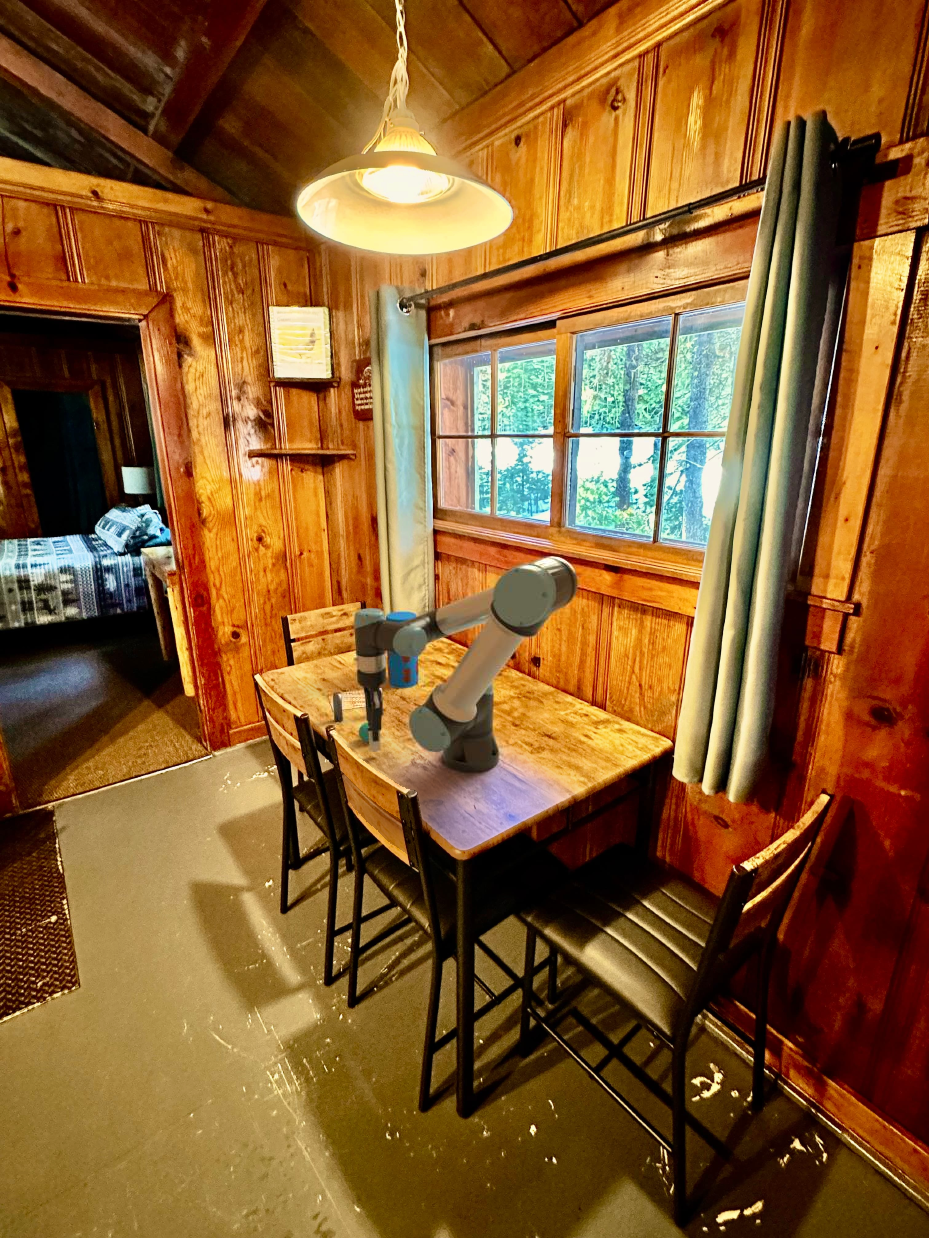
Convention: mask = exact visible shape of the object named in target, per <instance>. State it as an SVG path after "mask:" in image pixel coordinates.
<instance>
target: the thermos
mask: <svg viewBox="0 0 929 1238" xmlns="http://www.w3.org/2000/svg"><path fill="white" fill-rule="evenodd" d="M415 617H418V615H417V614H416V613H415V612H411V611H393V612H389V613H388V614H387V613H386V616H385V620H386V621H390V622H395V623H402V622H404V621H407V620H409V619H412V618H415ZM386 664H387V677H388V684H390V685H389V686H390V687H392V686H393V687H392V688H395V687H397V688H396V689H408V688H412V687H415V686H416V685H418V683H419V656H418V657H405V656H401V655H398V654H394V653H391V652H387V651H386Z"/></svg>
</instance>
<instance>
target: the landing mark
mask: <svg viewBox="0 0 929 1238" xmlns="http://www.w3.org/2000/svg"><path fill="white" fill-rule="evenodd" d="M358 690H359V689H357V690H351V691H343V692H341V693H344V694H341V697H342V701H352V700H353V701H365V699H363V698H361V699H360V698H356V699H357V700H356V699H355V698H353V699H352V698H350V697H365V695H363V694H360V695H358V694H357V695H355V694H354V695H352V694H349V693H364V691H363V690H364V689H360V690H359V691H358ZM361 690H362V691H361ZM352 691H353V692H352ZM355 691H356V692H355ZM346 693H347V694H346ZM329 697H330V696H329ZM329 697H328V698H329ZM344 697H345V698H344ZM347 697H348V698H347ZM346 698H347V699H346ZM349 698H350V699H349ZM351 699H352V700H351ZM359 699H360V700H359ZM330 701H333V700H329V703H330V707H331V709H332V712H333V713H334V709H333V702H330ZM348 703H349V702H348ZM351 703H352V702H351ZM342 705H348V704H346V702H345V703H344V702H342ZM349 705H350V704H349ZM352 705H353V704H352ZM354 705H358V706H355V708H356V709H360V707H362V708H366V705H365V703H362V702H361V703H360V702H359V703H357V702H356V704H354ZM359 705H360V706H359ZM361 705H362V706H361ZM364 705H365V706H364ZM353 708H354V707H353ZM345 709H349V710H353V709H352V708H349V707H347V706H344V707H343V706H342V711H346V710H345Z"/></svg>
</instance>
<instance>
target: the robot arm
mask: <svg viewBox="0 0 929 1238" xmlns="http://www.w3.org/2000/svg"><path fill="white" fill-rule="evenodd" d="M578 588H579V579H578V576H577V572H576V570H575V569H574V567H573V565H572V564H571V563H569V562H568V561H566V560H565V559H563V558H561V557H559V556H545V557H544V556H543V557H541V558H538V559H536V560H533V561H530V562H528V563H521V564H517V565H515V566H513V567H512V568H510V569H509V570H507V571H505V572H504V573H503V574H502V575H501V576H500V577H499V579H498V580H497V581H496V583H495V584H494V586H492V587H490V588H486V589H484V590H482V591H480V592H477V593H475V594H472V595H470V596H466V597H464V598H462V599H459V600H456V601H453V602H451V603H449V604H446V605H444V606H441V607H438V608H435V609H433V610H430V611H427V612H426V613H423V614H420V615H417V617H415V618H412V619H409V620H407V621H404V622H402V623H395V622H390V621H386V616H385V612H384V611H383V610H382V609H379V608H373V607H372V608H370V607H369V608H363V609H362V608H361V609H359V610H357V611H356V612H355V613H354V622H353V623H354V625H353V630H354V631H353V632H354V641H355V644H354V645H355V656H356V657H354V658H353V661H354V662H356V669H357V670H356V682H357V684H358V685H359V686H361V687H362V689H363V690H364V694H365V705H366V707H365V713H366V721H367V722H368V726H369V728H367V730H368V731H369V742H368V743H369V751H370V752H371V753H373V752H379V751H381V750H382V749H381V731H382V729H383V728H382V719H383V718H382V717H383V715H382V704H383V705H384V701H383V702H382V701H381V690H379V686H380V687H381V686H382V685H384V684H385V683H386V682H387V669H386V666H387V652H391V653H394V654H398V655H401V656H405V657H418V658H419V656H421V655H422V654H423V652H424V651H425V649H426V647H427V644H430V643H432V642H435V641H437V640H440V639H443V638H445V637H449V636H450V635H453V634H456V633H460V632H463V631H466V630H468V629H473V628H475V627H477V626H481V625H482V624H484V625H483V627H482V628H481V630H480V632H479V633H478V634H477V636H476V637H475V639H474V640H473V642H472V643H471V644H470V647H469V648H468V649H467V651H466V652H465V653H464V655H463V657H462V658H461V660H459V662H458V665H457V666H456V667H455V669H454V670H453V671H452V673H451V675H450V676H449V677H448V679H447V681H446V682H442V683H439V684H437V685H436V686H435V687H434V689H432V691H431V693H430V695H429V696H428V697H427V699H426V700H425V701H424V703H422V704H421V705H419V706H417V707H416V708H414V709H413V710H412V711H411V713H410V714H409V718H408V726H409V730H410V733H411V736H412V737H413V739H414V740H415V742H416V743H417V744H418V745H419V746H420V747H421V748H422V749H424V750H425V751H428V752H433V753H439V752H442V760H443V763H444V764H445V765H446V766H448V767H449V768H450V769H452V770H455V771H459V772H462V773H479V772H484V771H487V770H489V769H492V768H494V767H495V766H496V765H497V764H498V762H499V761H500V760H499V759H500V750H499V746H498V744H497V740H496V737H495V734H494V732H493V731H494V698H495V697H494V696H495V692H494V684H493V682H494V681H495V679H496V678H497V676H498V675H499V673H500V672H501V671H502V669H503V668H504V666H505V665H506V664H507V662H508V661H509V660H510V658H511V657H512V656H513V655H514V653H515V652H516V650H517V649H518V648H519V646H520V645H521V643H522V642H523V641H524V639H530V638H531V639H532V638H533V637H535V636H536V635H537V634H538V633H539V631H540V630H541V629H542V627H543V626H544V625H545V623H546V622H547V621H548V620H549V618H550V617H551V616H552V615H553V614H554V613H555V612H557V611H559V610H560V609H563V608H565V606H568V605H569V603H570V602H572V600H574V598H575V596H576V594H577V592H578ZM367 722H366V723H367Z"/></svg>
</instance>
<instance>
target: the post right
mask: <svg viewBox="0 0 929 1238" xmlns="http://www.w3.org/2000/svg"><path fill="white" fill-rule="evenodd" d="M379 690H381V701H382V702H383V704H382V716H383V715H384V700H383V699H384V698H383V687H382V686H381V685H380V686H379Z"/></svg>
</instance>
